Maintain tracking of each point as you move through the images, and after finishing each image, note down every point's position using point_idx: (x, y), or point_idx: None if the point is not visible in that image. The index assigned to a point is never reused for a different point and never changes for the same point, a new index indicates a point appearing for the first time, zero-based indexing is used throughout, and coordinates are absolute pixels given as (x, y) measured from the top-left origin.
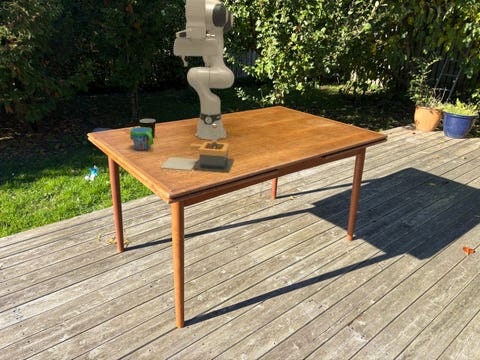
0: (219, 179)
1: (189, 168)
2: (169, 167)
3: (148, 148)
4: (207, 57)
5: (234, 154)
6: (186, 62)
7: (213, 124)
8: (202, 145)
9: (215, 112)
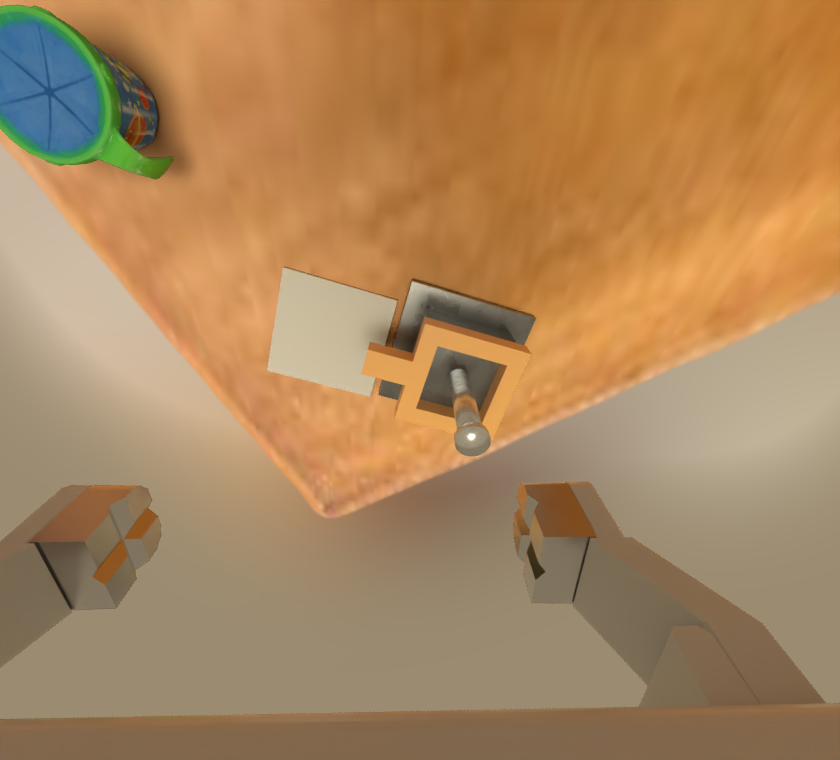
0: (451, 458)
1: (365, 386)
2: (297, 373)
3: (155, 129)
4: (680, 678)
5: (560, 237)
6: (93, 608)
7: (466, 448)
8: (412, 376)
9: None
